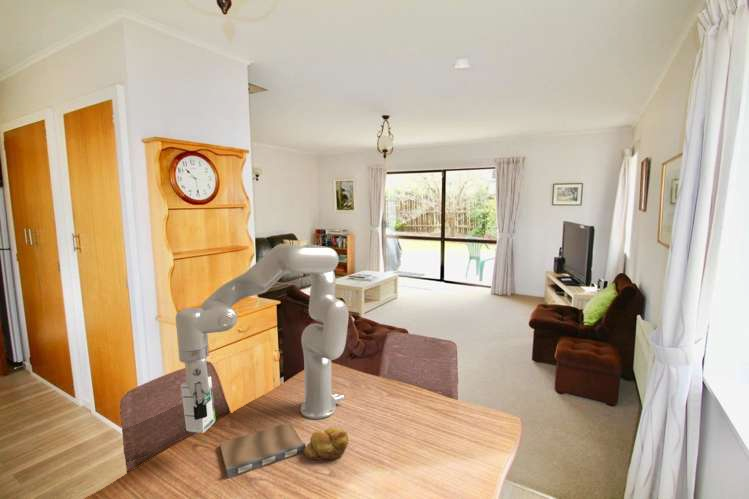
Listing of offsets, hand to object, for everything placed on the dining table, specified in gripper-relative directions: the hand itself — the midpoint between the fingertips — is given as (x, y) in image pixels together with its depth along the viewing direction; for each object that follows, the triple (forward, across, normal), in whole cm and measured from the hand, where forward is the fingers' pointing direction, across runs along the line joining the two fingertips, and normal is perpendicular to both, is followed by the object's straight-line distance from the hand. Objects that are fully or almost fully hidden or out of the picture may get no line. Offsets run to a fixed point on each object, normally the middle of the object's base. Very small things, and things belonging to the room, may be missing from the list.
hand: (199, 410), depth 108 cm
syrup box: (+5, 0, 0) cm, 5 cm away
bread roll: (+16, -15, -32) cm, 39 cm away
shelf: (+16, -4, -16) cm, 23 cm away
